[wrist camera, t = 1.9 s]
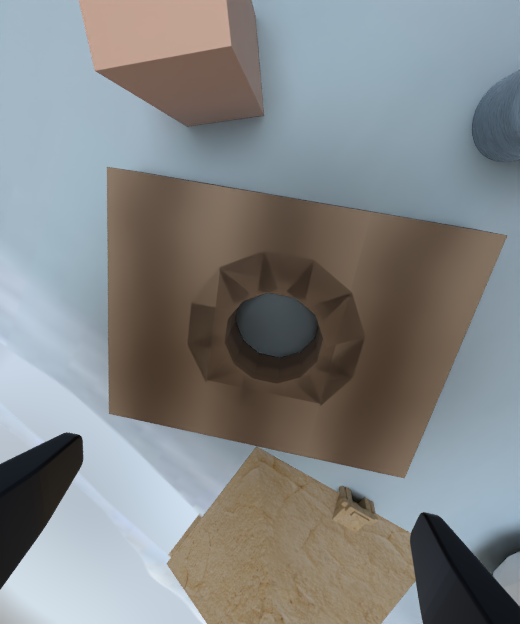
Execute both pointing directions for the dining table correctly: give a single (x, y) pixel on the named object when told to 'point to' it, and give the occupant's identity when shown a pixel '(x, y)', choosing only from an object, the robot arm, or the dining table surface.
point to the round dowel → (499, 121)
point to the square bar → (180, 55)
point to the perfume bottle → (510, 576)
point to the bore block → (293, 283)
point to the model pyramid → (291, 552)
